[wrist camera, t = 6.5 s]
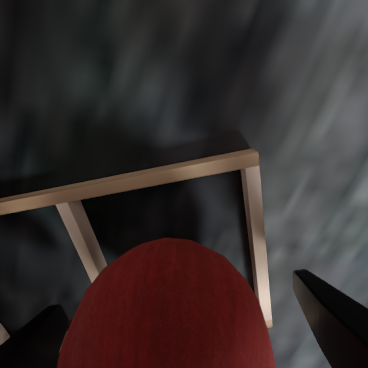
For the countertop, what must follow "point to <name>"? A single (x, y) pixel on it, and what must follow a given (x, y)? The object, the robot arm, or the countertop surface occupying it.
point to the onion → (168, 313)
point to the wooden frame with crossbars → (72, 194)
